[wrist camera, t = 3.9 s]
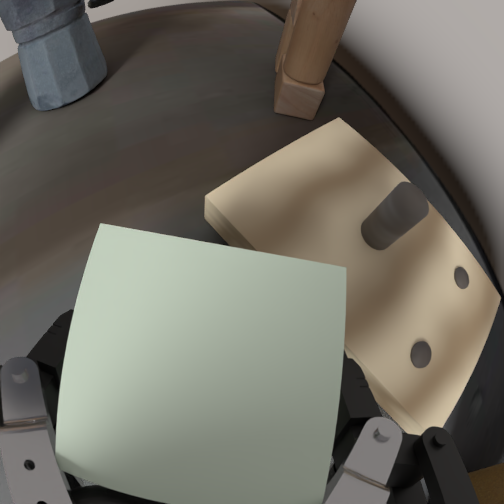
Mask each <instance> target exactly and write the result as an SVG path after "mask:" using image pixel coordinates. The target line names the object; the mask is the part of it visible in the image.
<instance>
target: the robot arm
mask: <svg viewBox="0 0 504 504" xmlns="http://www.w3.org/2000/svg"><path fill="white" fill-rule="evenodd" d="M73 313H74V310H69V311H67V312H66V313H64V314H62V315H60V316H59V317H58V319H57V320H56V321H55V322H54V323H53V326H51V327H50V328H49V329H48V330H47V332H46V333H45V334H44V335H43V337H42V338H41V339H40V340H39V341H38V343H37V344H36V345H35V346H34V348H33V349H32V350H31V351H30V353H29V354H28V355H27V357H15V358H12V359H10V360H8V361H7V362H6V363H5V364H4V365H3V366H2V365H0V449H1V454H2V460H3V465H4V469H5V474H6V478H7V482H8V486H9V490H10V493H11V497H12V500H13V503H14V504H167V503H162V502H158V501H153V500H149V499H145V498H141V497H137V496H133V495H129V494H126V493H122V492H119V491H116V490H112V489H109V488H106V487H103V486H100V485H92V486H85V485H84V483H83V481H82V479H81V478H79V477H76V476H74V475H71V474H69V473H67V472H64V471H62V470H61V468H60V466H59V464H58V461H57V459H56V457H55V449H56V425H57V412H58V401H59V392H60V384H61V376H62V369H63V363H64V357H65V351H66V346H67V341H68V336H69V331H70V326H71V322H72V317H73ZM365 378H366V377H365V375H364V373H363V371H362V368H361V367H360V366H359V365H358V364H357V363H356V362H355V361H354V360H353V359H352V358H348V357H347V355H346V352H345V350H344V354H343V367H342V379H341V389H340V398H339V407H338V415H337V423H336V430H335V437H334V444H333V450H332V456H333V459H334V462H333V463H332V464H331V466H330V468H329V473H328V478H327V483H326V488H325V493H324V498H323V502H322V504H386V503H387V504H427V501H426V497H425V494H424V491H423V488H422V484H421V481H420V480H421V479H422V478H423V477H424V479H425V483H426V486H427V489H428V492H429V495H430V503H429V504H479V501H478V498H477V495H476V493H475V490H474V488H473V485H472V482H471V480H470V477H469V475H468V473H467V470H466V468H465V465H464V463H463V461H462V458H461V456H460V454H459V452H458V449H457V447H456V445H455V443H454V441H453V439H452V437H451V435H450V434H449V433H448V432H447V431H446V430H445V429H443V428H441V427H436V426H432V427H429V428H427V429H426V430H425V431H424V432H423V433H422V434H421V435H414V434H408V433H402V432H401V430H400V428H399V427H398V425H397V424H396V423H394V422H393V421H392V420H390V419H387V418H384V417H382V415H381V412H380V410H379V408H378V405H377V403H376V401H375V398H374V396H373V394H372V391H371V389H370V388H369V384H368V382H367V380H365Z"/></svg>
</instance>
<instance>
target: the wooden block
mask: <svg viewBox="0 0 504 504" xmlns="http://www.w3.org/2000/svg"><path fill="white" fill-rule="evenodd" d="M355 3H356V0H292V1H291V4H290V9H289V11H288V15H287V18H286V21H285V25H284V29H283V32H282V36H281V40H280V43H279V47H278V51H277V55H276V61H275V71H276V73H277V75H276V79H275V94H274V111H275V113H278V114H283V115H288V116H293V117H298V118H302V119H307V120H313V119H314V117H315V115H316V112H317V110H318V108H319V105H320V103H321V101H322V98H323V96H324V94H325V89H324V84H323V80H324V78H325V76H326V74H327V71H328V69H329V66H330V64H331V61H332V59H333V57H334V54H335V52H336V49H337V47H338V44H339V42H340V40H341V37H342V35H343V32H344V30H345V27H346V25H347V23H348V20H349V18H350V15H351V13H352V10H353V8H354V5H355Z"/></svg>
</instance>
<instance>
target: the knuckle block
mask: <svg viewBox="0 0 504 504" xmlns="http://www.w3.org/2000/svg"><path fill="white" fill-rule="evenodd" d="M345 317H346V267H342V266H336V265H331V264H325V263H319V262H314V261H308V260H303V259H297V258H292V257H286V256H281V255H275V254H270V253H264V252H258V251H253V250H247V249H242V248H236V247H231V246H225V245H219V244H214V243H208V242H203V241H197V240H191V239H186V238H180V237H175V236H169V235H163V234H158V233H152V232H147V231H141V230H135V229H130V228H124V227H118V226H113V225H107V224H101V223H100V226H99V229H98V232H97V235H96V237H95V240H94V243H93V246H92V249H91V252H90V255H89V259H88V262H87V265H86V268H85V272H84V275H83V278H82V282H81V286H80V289H79V293H78V297H77V301H76V305H75V309H74V313H73V317H72V322H71V326H70V331H69V336H68V341H67V346H66V351H65V357H64V363H63V369H62V376H61V384H60V392H59V401H58V412H57V425H56V449H55V457H56V459H57V461H58V464H59V466H60V468H61V470H62V471H64V472H67V473H69V474H71V475H74V476H76V477H79V478H81V479H84V480H87V481H89V482H92V483H95V484H98V485H100V486H103V487H106V488H109V489H112V490H116V491H119V492H122V493H126V494H129V495H133V496H137V497H141V498H145V499H149V500H153V501H158V502H162V503H167V504H322V502H323V498H324V493H325V488H326V483H327V478H328V473H329V468H330V462H331V456H332V450H333V444H334V437H335V430H336V423H337V415H338V407H339V398H340V389H341V379H342V367H343V354H344V338H345Z"/></svg>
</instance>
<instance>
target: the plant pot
mask: <svg viewBox="0 0 504 504" xmlns="http://www.w3.org/2000/svg"><path fill="white" fill-rule="evenodd" d="M468 475H469V477H470V480H471V482H472V485H473V488H474V490H475V493H476V495H477V498H478V501H479V504H504V463H500V464H497V465H494V466H490V467H487V468H484V469H480V470H477V471H473V472H470V473H468Z"/></svg>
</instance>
